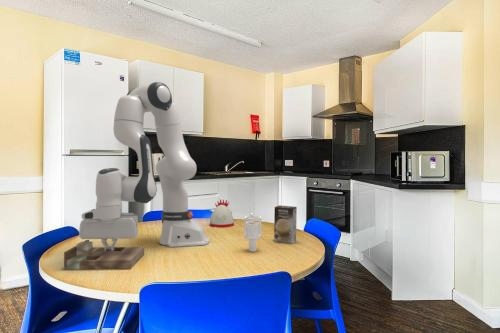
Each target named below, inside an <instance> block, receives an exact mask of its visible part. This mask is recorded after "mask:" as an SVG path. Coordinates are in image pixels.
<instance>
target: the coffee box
mask: <svg viewBox="0 0 500 333" xmlns="http://www.w3.org/2000/svg"><path fill="white" fill-rule="evenodd" d="M297 210H298V209H297V206H291V205H290V206H289V205H277V206H275V207H274V219H273V220H274V222H273V223H274V226H273V227H274V228H273V232H274V233H273V234H274V235H273V242H275V243H280V244H281V243H283V244H291V245H293V244H294V243H296V242H297V214H298V213H297Z"/></svg>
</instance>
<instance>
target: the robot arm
mask: <svg viewBox="0 0 500 333" xmlns="http://www.w3.org/2000/svg"><path fill="white" fill-rule="evenodd" d="M172 97H173V96H172V93H171V90H170V88H169V87H168V86H167V84H165V83H164V82H161V81H159V82H158V81H157V82H150V83H146V84H143V85H141V86H138V87H136V88H135V87H134V88H133V89H131V90H129V91H128V92H127V93H126V94H125V95H123V96H121V97H120V98H119V99H118V100H117V105H116V107H115V112H114V117H113V118H114V119H113V135H114V137H115V139H116V140H117V141H118V142H119V144H122V145H124V146H126V147H129V148H130V149H132V150H134V152H136V154H137V159H138V160H137V161H138V163H137V164H138V173H139V174H138V176H129V175H128V176H126V175H124V174H123V173H121V170H120V169H119V168H117V167H110V168H103V169H100V170H99V171H97V174H96V180H95V196H96V202H95V208H94V209H91V210H88V211H86V212H83V213H82V214H81V219H82V220H81V222H80V223H79V231H78V236H79V239H81V240H101V241H100V242H101V243H102V245H103V247H105V251H113V250H114V247H115V245H116V243H117V242H118V240H119V239H120V240H123V239H128V240H129V239H135V238H137V237H138V236H139V226H138V223H139V216H138V215H137V213H134V212H123V202H129V203H130V202H132V203H134V202H135V203H139V204H148V203H149V202H151V201H152V200H153V199H155V197H156V195H157V191H158V190H157V183H156V179H155V174H154V165H153V164H154V163H153V162H154V161H153V151H152V145H151V141H150V138H149V137H148V136H146V134H145V129H144V121H145V120H144V115H145V113H149V112H151V114H152V115H153V117H154V125H155V126H154V127H155V131H156V137H157V144H158V145H159V147H160V148H161V150H162V152H163V154H164V157H162V158H160V159H159V160H158V161H157V162H156V164H155V172H156V174H157V175H158V178H159V181H160V186H161V192H162V211H161V224H162V225H161V233H160V234H161V235H160V238H159V242H158V243H159V244H160V245H163V246H167V247H170V248H175V247H176V248H177V247H193V246H195V247H196V246H197V247H198V246H206V245H208V244H209V243H210V237H209V236H207V235H206V234H205V229H204V226H203V225H201V224H200V223H198V222H197V221H196V220H195V219H193V216H194V214H193V212H192V211H190V210H189V206H188V205H189V193H188V191H187V190H186V187H185V184H184V181H187V180H190V179H193V178H194V177H195V175H196V173H197V164H196V161H195V160H194V159H193V158H192V157H191V155H190V153H189V150H188V148H187V145H186V144H185V139H184V136H183V135H184V134H183V130H182V124H181V118H180V115H179V112H178V108H177V105H176V104H175V103H174V101H173V98H172ZM108 240H111V242H112V243H111V244H108V243H107V241H108Z"/></svg>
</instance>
